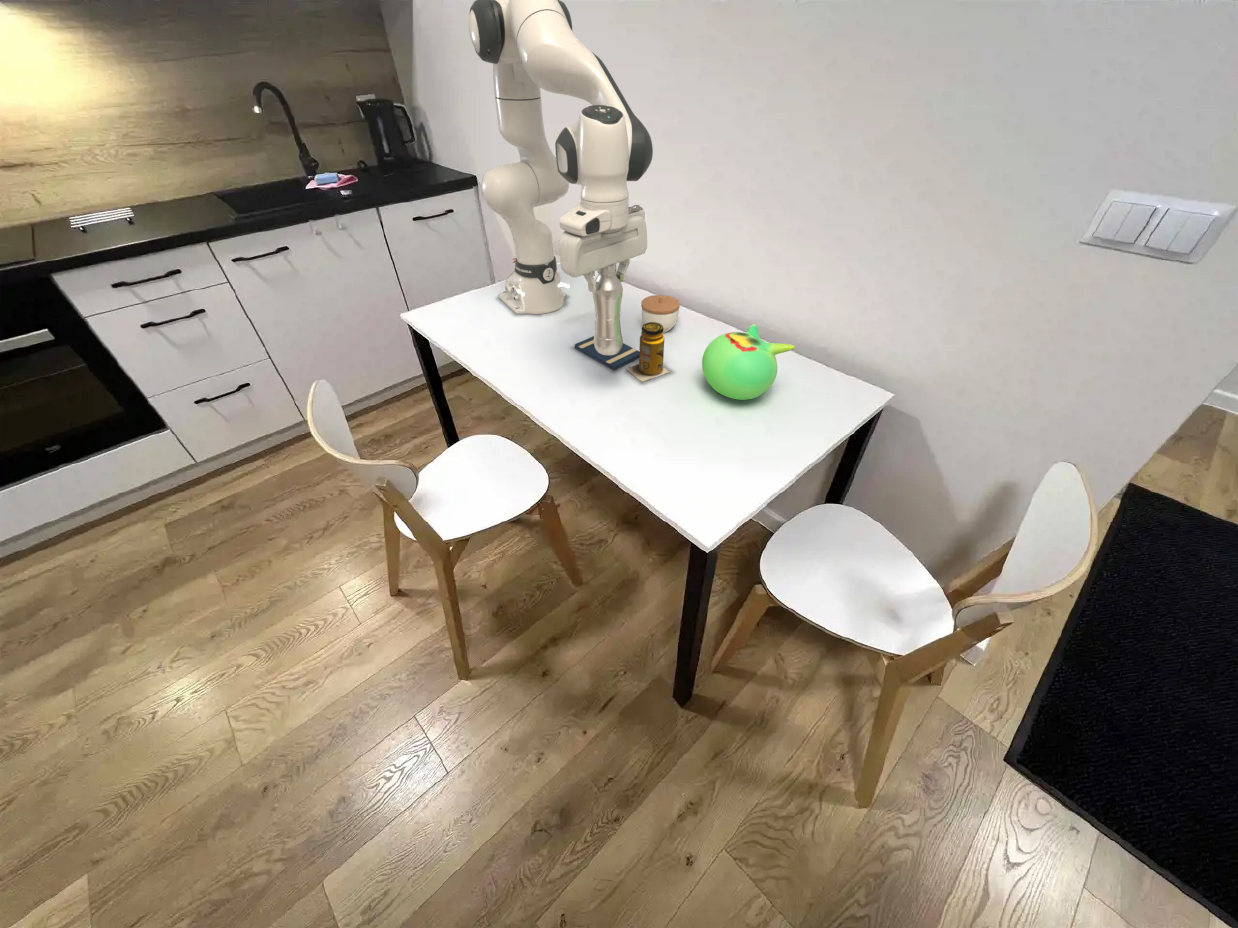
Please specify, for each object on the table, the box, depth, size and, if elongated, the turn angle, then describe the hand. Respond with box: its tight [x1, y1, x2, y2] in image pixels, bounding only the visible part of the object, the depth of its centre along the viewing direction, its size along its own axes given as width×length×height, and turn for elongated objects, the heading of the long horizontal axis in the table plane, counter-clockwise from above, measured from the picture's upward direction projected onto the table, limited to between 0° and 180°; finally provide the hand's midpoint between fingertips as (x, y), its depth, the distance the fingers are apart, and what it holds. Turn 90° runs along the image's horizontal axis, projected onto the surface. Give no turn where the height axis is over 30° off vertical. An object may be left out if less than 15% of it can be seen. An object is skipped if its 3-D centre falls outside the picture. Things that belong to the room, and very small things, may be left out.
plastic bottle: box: [591, 263, 624, 355], centre depth 105 cm, size 6×7×20 cm
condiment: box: [625, 322, 670, 382], centre depth 121 cm, size 7×8×12 cm
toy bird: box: [701, 323, 796, 401], centre depth 113 cm, size 18×17×15 cm
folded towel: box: [574, 335, 640, 371], centre depth 132 cm, size 16×10×1 cm, turn 43°
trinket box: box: [640, 294, 681, 334], centre depth 139 cm, size 11×11×9 cm
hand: (606, 286), depth 101 cm, fingers closed on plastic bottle, 6 cm apart
